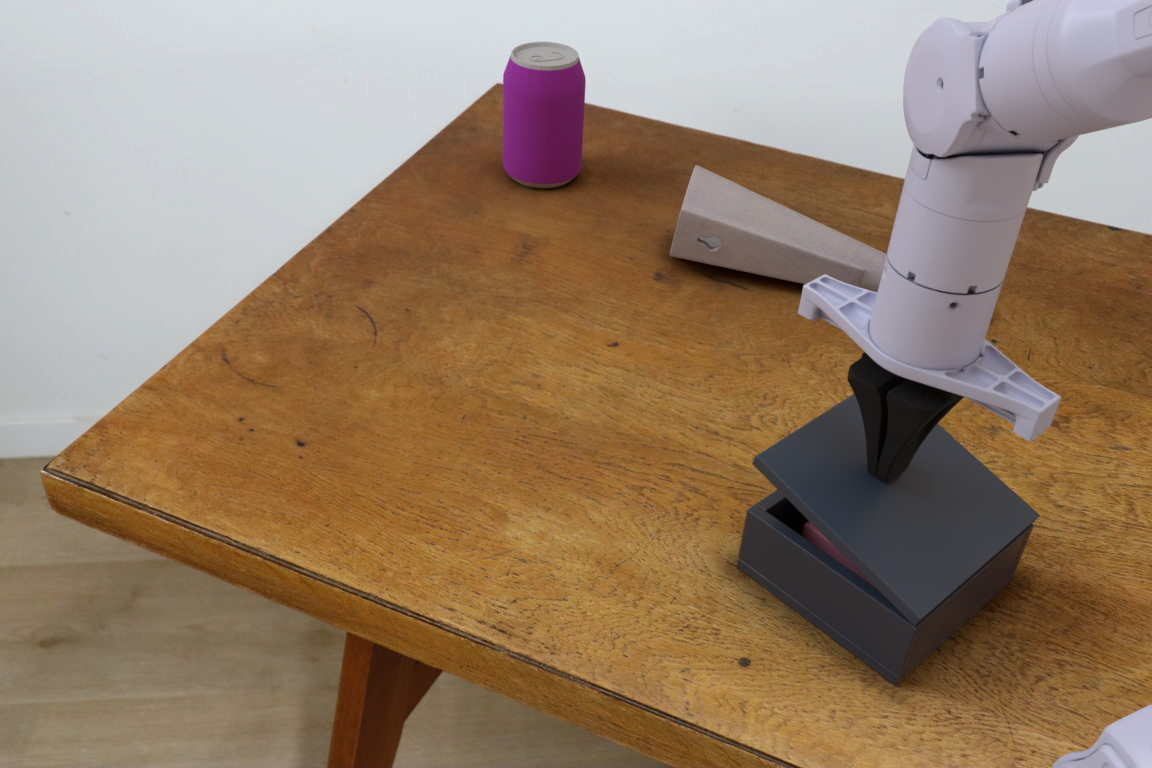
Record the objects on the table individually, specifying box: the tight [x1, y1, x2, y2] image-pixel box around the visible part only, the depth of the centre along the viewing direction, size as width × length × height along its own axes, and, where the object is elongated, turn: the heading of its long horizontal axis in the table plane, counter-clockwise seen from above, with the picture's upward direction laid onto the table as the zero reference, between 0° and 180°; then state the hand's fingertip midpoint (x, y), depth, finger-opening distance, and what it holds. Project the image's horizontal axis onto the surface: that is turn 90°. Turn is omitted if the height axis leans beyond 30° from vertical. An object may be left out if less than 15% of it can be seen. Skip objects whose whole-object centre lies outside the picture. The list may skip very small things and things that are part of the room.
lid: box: [752, 393, 1040, 626], centre depth 63 cm, size 12×12×1 cm
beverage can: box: [502, 41, 587, 189], centre depth 105 cm, size 8×8×12 cm
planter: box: [669, 164, 887, 292], centre depth 94 cm, size 8×9×26 cm
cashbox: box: [736, 488, 1035, 687], centre depth 66 cm, size 12×12×5 cm
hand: (886, 469), depth 63 cm, fingers closed
